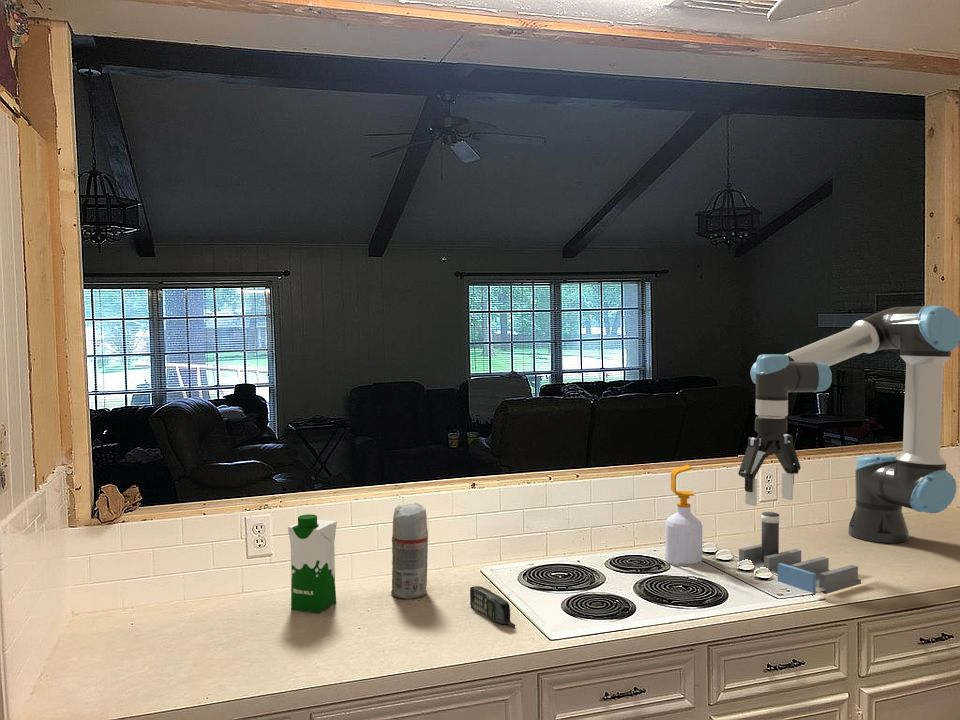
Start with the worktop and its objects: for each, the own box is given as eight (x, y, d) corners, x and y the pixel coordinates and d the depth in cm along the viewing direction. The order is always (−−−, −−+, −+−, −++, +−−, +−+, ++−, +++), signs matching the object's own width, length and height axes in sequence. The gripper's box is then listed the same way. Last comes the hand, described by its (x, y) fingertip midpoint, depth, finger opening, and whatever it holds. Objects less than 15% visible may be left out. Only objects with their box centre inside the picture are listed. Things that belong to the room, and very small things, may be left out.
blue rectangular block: (780, 584, 176) (781, 562, 176) (815, 595, 169) (815, 573, 169) (777, 585, 176) (777, 563, 176) (812, 596, 168) (812, 574, 168)
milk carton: (284, 610, 162) (283, 517, 161) (307, 596, 171) (306, 508, 170) (321, 615, 159) (319, 520, 158) (342, 601, 168) (341, 510, 167)
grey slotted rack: (770, 556, 198) (770, 541, 198) (861, 583, 176) (861, 566, 176) (736, 564, 191) (736, 548, 191) (825, 594, 170) (826, 576, 170)
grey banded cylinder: (768, 558, 193) (768, 511, 193) (782, 562, 190) (783, 514, 189) (757, 560, 191) (757, 513, 190) (771, 565, 187) (771, 516, 187)
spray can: (435, 590, 174) (434, 503, 173) (417, 602, 167) (416, 511, 166) (403, 585, 178) (402, 500, 177) (384, 596, 170) (383, 507, 169)
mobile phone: (467, 585, 164) (505, 605, 151) (479, 583, 165) (517, 602, 152) (467, 608, 164) (505, 630, 151) (479, 605, 165) (518, 627, 152)
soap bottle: (706, 567, 189) (707, 469, 188) (669, 567, 189) (669, 469, 188) (696, 556, 198) (697, 462, 197) (661, 556, 198) (661, 462, 197)
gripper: (790, 412, 198) (789, 493, 199) (724, 417, 186) (722, 504, 186) (816, 415, 192) (814, 499, 193) (749, 421, 179) (747, 510, 180)
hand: (769, 501), depth 190 cm, fingers open, 13 cm apart
